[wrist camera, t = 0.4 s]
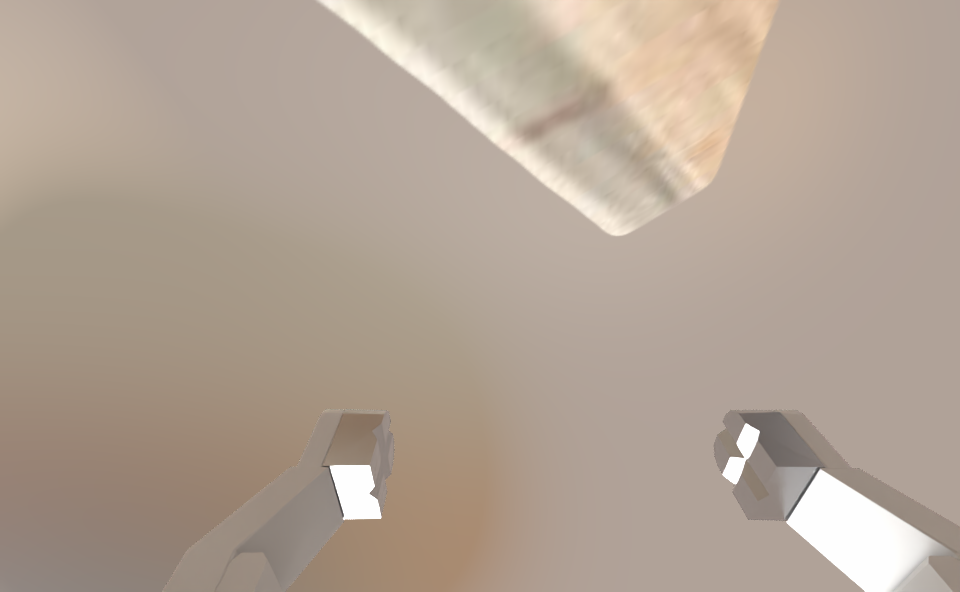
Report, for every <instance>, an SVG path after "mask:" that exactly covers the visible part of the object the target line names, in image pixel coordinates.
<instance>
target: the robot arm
mask: <svg viewBox="0 0 960 592" xmlns="http://www.w3.org/2000/svg"><path fill="white" fill-rule="evenodd" d="M390 422H391V420H390V415H389V412H388V411H386V410H351V409H350V410H349V409H346V410H336V409H325V411H324V412H323V413H322V414H321V415H320V417H319V420H318V422H317V424H316V426H315V428H314V430H313V432H312V435H311V437H310V439H309V441H308V443H307V446H306V448H305V450H304V452H303V454H302V457H301V459H300V461H299V463H298V465H297V467H290V468H289V469H287V470H286V471H285V472H284V473H282V474H281V475H280V476H279V477H277V478H276V479H275V480H274V481H272V482H271V483H270V484H269V485H267V486H266V487H265V488H264V489H263V490H261V491H260V492H259V493H257V494H256V495H255V496H254V497H252V498H251V499H250V500H249V501H248V502H246V503H245V504H244V505H242V506H241V507H240V508H239V509H238V510H236V511H235V512H234V513H233V514H231V515H230V516H229V517H227V518H226V519H225V520H224V521H223V522H221V523H220V524H219V525H218V526H216V527H215V528H214V529H213V530H212V531H210V532H209V533H208V534H206V536H204V537H203V538H201V539H200V540H199V541H198V542H196V543H195V544H194V545H193V546H191V547H190V548H189V549H188V550H187V551H186V553H185V555H184V556H183V558H182V559H181V561H180V563H179V564H178V566H177V568H176V569H175V571H174V573H173V574H172V576H171V578H170V579H169V581H168V583H167V584H166V586H165V588H164V589H163V591H162V592H285V591H286V590H287V589H288V588H289V587H290V585H291V584H292V583H293V582H294V581H295V579H296V578H297V577H298V576H299V575H300V573H301V572H302V571H303V570H304V569H305V567H306V566H307V565H308V564H309V563H310V561H311V560H312V559H313V558H314V557H315V556H316V554H317V553H318V552H319V551H320V549H321V548H322V547H323V546H324V545H325V544H326V542H327V541H328V540H329V539H330V538H331V536H332V535H333V534H334V533H335V532H336V530H337V529H338V528H339V527H340V526H341V524H342V523H343V522H344V519H361V518H362V519H363V518H381V516H382V512H383V507H384V503H385V498H386V494H387V488H386V483H385V479H386V478H387V477H388V476H390V474H391V471H392V466H393V460H394V438H393V434H392V433H391V432H390V431H389V427H390ZM723 423H724V425H725V427H726V429H725V430H723V431H722V432H721V433H719V434H718V435H717V437H716V440H715V443H714V452H715V453H714V455H715V459H716V462H717V465H718V467H719V469H720V471H721V473H722V474H723V476H725V477H726V478H728V479H729V480H730V481H731V482H733V483H734V488H733V494H734V496H735V497H736V499H737V501H738V503H739V504H740V506H741V508H742V510H743V511H744V513H745V515H746V517H747V518H748V520H750V519H751V520H779V521H780V520H781V521H787V523H788V524H789V525H790V526H791V527H792V528H793V529H794V530H795V531H797V532H798V533H799V534H800V535H801V536H802V537H803V538H805V539H806V540H807V541H808V542H809V543H810V544H812V545H813V546H814V547H815V548H816V549H817V550H818V551H820V552H821V553H822V554H823V555H824V556H826V558H828V559H829V560H830V561H831V562H832V563H833V564H835V565H836V566H837V567H838V568H839V569H840V570H842V571H843V572H844V573H845V574H846V575H847V576H848V577H850V578H851V579H852V580H853V581H854V582H856V583H857V584H858V585H859V586H860V587H861V588H862V589H863V590H864V591H866V592H960V527H959V526H958V525H956V524H954V523H953V522H951V521H949V520H948V519H946V518H944V517H942V516H941V515H939V514H937V513H935V512H934V511H932V510H930V509H928V508H927V507H925V506H923V505H921V504H920V503H918V502H916V501H915V500H913V499H911V498H909V497H908V496H906V495H904V494H903V493H901V492H899V491H897V490H896V489H894V488H892V487H890V486H889V485H887V484H885V483H884V482H882V481H880V480H878V479H877V478H875V477H873V476H871V475H870V474H868V473H866V472H864V471H863V470H861V469H859V468H851V467H850V466H849V464H848V463H847V462H846V461H845V460H844V459H843V458H842V457H841V456H840V454H839V453H838V452H837V451H836V450H835V449H834V448H833V446H832V445H831V444H830V443H829V442H828V441H827V440H826V439H825V437H824V436H823V435H822V434H821V433H820V432H819V431H818V430H817V429H816V427H815V426H814V425H813V424H812V423H811V422H810V421H809V420H808V418H807V417H806V416H805V415H804V414H803V413H801V412H799V411H798V410H731V411H729V412H728V413H727V414H726V415H725V418H724V420H723Z"/></svg>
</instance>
